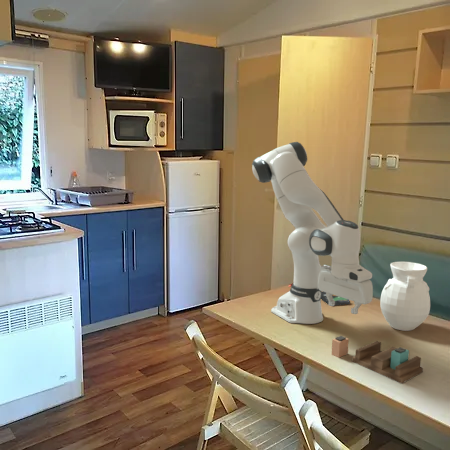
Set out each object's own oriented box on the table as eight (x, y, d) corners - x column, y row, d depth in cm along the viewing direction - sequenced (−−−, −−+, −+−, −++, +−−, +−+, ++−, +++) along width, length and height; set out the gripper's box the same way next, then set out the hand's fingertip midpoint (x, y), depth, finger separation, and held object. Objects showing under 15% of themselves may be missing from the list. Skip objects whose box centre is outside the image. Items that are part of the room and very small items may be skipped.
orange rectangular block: (331, 354, 160) (332, 338, 159) (340, 350, 163) (341, 334, 162) (338, 357, 158) (339, 341, 157) (347, 353, 161) (348, 337, 160)
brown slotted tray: (352, 361, 155) (353, 348, 154) (373, 352, 163) (374, 339, 162) (401, 383, 141) (403, 369, 141) (422, 372, 149) (423, 358, 148)
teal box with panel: (390, 367, 148) (391, 349, 147) (398, 363, 151) (400, 345, 150) (398, 371, 146) (400, 353, 145) (407, 366, 149) (409, 349, 148)
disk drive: (314, 296, 223) (329, 306, 208) (315, 291, 222) (329, 300, 208) (334, 295, 225) (350, 305, 211) (334, 289, 225) (350, 299, 211)
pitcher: (432, 337, 176) (439, 273, 171) (381, 333, 179) (386, 269, 175) (422, 319, 194) (428, 261, 189) (376, 315, 197) (380, 258, 193)
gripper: (314, 264, 161) (312, 303, 164) (364, 278, 145) (362, 320, 148) (326, 262, 165) (324, 299, 168) (376, 274, 149) (374, 316, 152)
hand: (342, 309), depth 158 cm, fingers open, 8 cm apart
